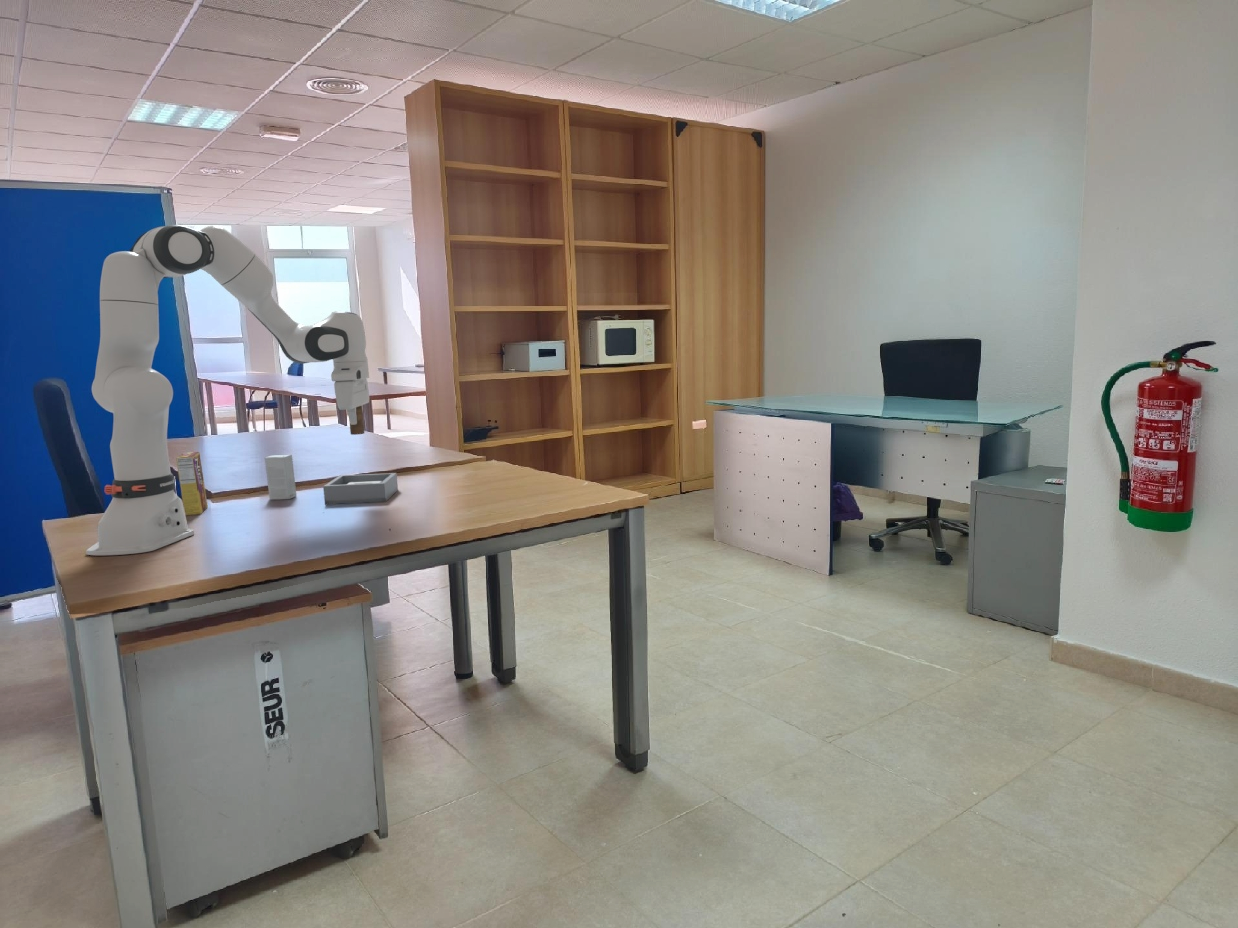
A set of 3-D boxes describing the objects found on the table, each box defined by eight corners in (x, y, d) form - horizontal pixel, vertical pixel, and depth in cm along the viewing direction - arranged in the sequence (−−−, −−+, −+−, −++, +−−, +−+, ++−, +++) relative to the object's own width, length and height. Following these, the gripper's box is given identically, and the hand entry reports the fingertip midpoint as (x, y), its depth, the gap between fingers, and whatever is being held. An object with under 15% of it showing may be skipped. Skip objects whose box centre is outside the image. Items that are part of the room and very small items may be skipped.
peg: (362, 434, 216) (360, 406, 214) (349, 434, 215) (346, 407, 214) (365, 432, 219) (363, 405, 218) (352, 433, 219) (349, 406, 218)
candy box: (190, 508, 212) (183, 452, 210) (208, 507, 213) (201, 451, 211) (182, 515, 204) (175, 457, 201) (201, 514, 205) (194, 456, 202)
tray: (385, 501, 213) (384, 483, 212) (324, 504, 212) (323, 486, 211) (397, 489, 228) (396, 472, 228) (341, 492, 227) (339, 475, 227)
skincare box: (297, 496, 224) (292, 454, 222) (289, 499, 220) (285, 457, 218) (276, 496, 225) (272, 454, 223) (268, 499, 221) (264, 457, 219)
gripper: (349, 370, 224) (354, 419, 227) (328, 375, 204) (334, 428, 207) (372, 370, 225) (376, 418, 227) (353, 374, 205) (358, 427, 207)
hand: (356, 423), depth 217 cm, fingers closed on peg, 4 cm apart
